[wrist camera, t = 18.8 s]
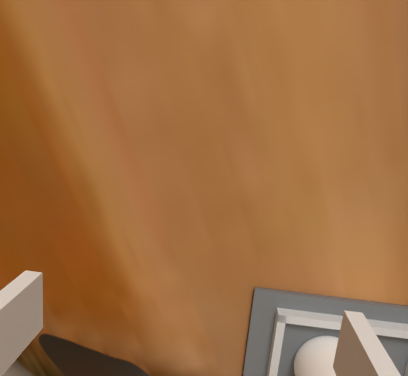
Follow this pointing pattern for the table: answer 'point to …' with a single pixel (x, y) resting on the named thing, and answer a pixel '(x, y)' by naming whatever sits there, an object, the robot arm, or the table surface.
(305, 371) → the cup
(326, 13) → the table surface
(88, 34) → the table surface
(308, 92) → the table surface
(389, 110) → the table surface
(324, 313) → the rail plate
